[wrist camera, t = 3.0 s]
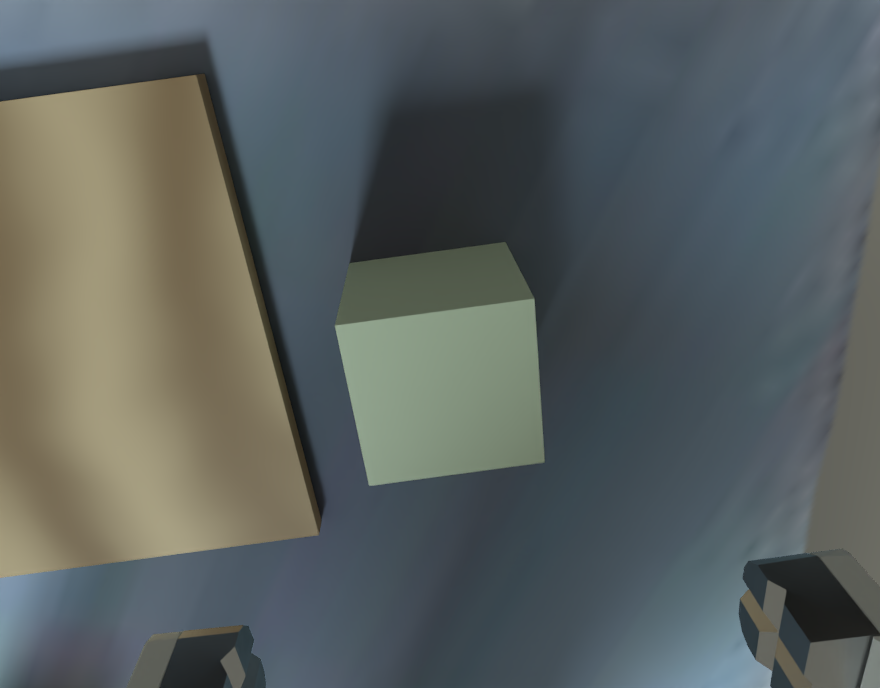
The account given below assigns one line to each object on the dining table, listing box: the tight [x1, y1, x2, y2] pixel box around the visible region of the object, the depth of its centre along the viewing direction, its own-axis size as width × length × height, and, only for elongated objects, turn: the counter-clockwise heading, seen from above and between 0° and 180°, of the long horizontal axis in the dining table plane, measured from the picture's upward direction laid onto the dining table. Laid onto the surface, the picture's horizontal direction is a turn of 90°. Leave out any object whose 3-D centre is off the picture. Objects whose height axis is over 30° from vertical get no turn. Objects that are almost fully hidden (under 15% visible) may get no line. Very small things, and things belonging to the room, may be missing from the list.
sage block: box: [335, 242, 545, 486], centre depth 19 cm, size 5×5×5 cm
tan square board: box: [0, 74, 321, 578], centre depth 21 cm, size 16×16×1 cm
